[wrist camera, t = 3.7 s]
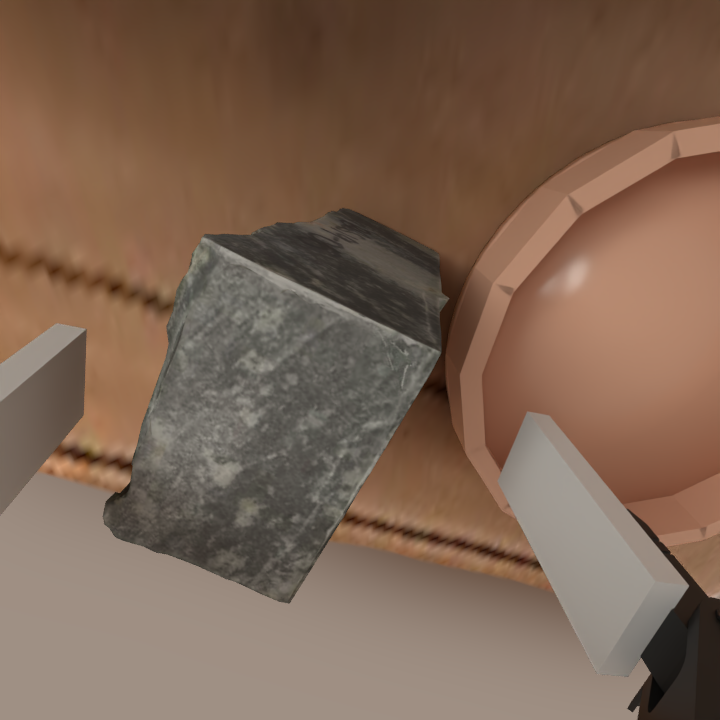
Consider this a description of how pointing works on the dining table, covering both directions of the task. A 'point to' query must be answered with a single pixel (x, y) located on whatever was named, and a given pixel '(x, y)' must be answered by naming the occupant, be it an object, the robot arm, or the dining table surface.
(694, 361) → the dish
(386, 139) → the dining table surface
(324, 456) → the stone block
